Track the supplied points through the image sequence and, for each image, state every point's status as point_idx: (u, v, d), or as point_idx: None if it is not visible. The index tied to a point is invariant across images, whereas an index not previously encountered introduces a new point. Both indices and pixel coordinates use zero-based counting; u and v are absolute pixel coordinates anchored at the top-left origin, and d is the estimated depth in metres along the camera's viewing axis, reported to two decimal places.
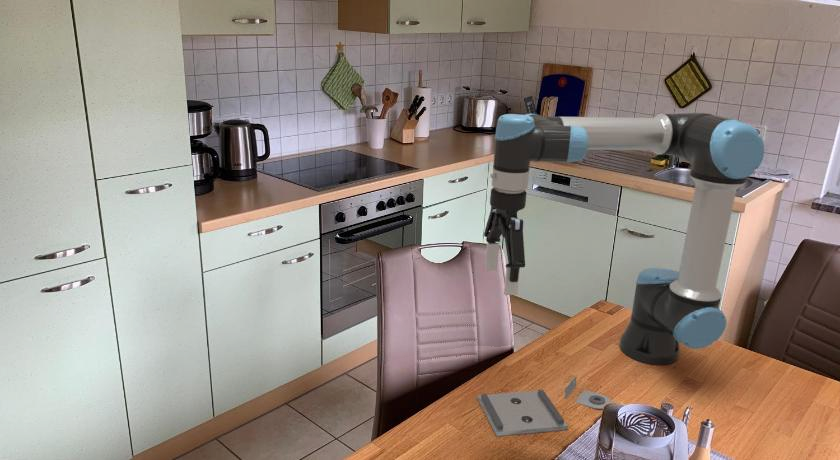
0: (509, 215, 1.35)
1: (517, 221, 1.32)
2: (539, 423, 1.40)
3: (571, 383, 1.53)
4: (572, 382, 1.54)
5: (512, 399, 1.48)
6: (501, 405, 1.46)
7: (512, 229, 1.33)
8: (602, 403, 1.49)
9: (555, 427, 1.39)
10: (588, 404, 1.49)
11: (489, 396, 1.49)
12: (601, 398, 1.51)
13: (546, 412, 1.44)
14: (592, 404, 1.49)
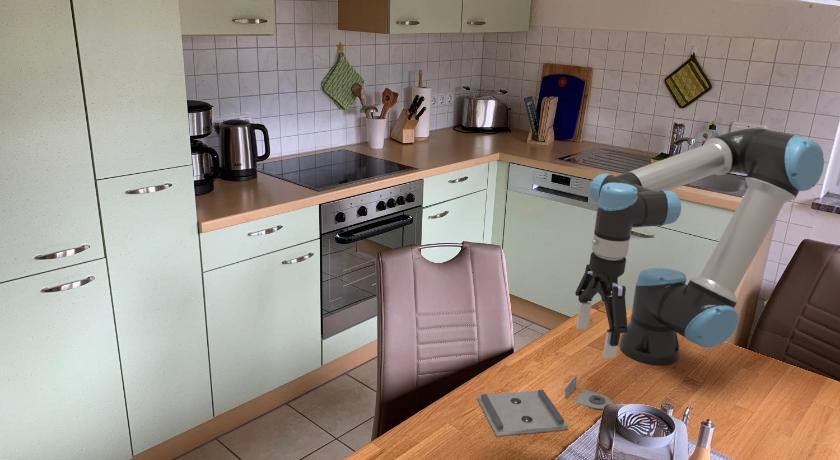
0: (610, 281, 1.39)
1: (620, 288, 1.36)
2: (539, 423, 1.40)
3: (571, 383, 1.53)
4: (572, 382, 1.54)
5: (512, 399, 1.48)
6: (501, 405, 1.46)
7: (615, 296, 1.36)
8: (602, 403, 1.49)
9: (555, 427, 1.39)
10: (588, 404, 1.49)
11: (489, 396, 1.49)
12: (601, 398, 1.51)
13: (546, 412, 1.44)
14: (592, 404, 1.49)
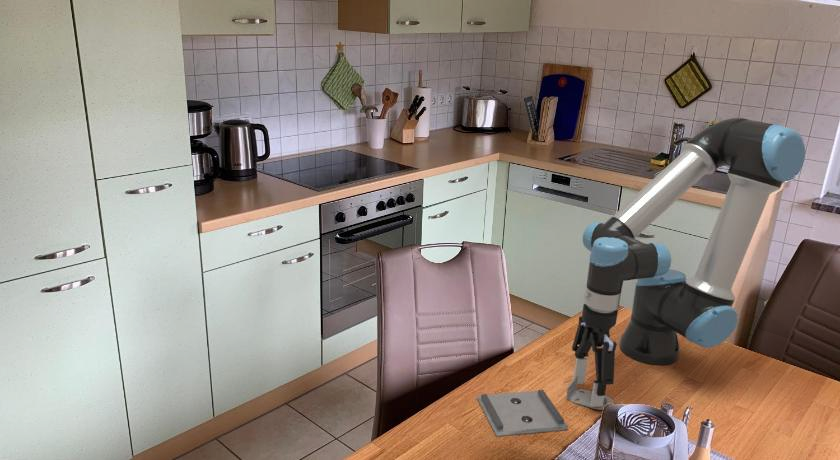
0: (602, 334, 1.42)
1: (611, 345, 1.40)
2: (539, 423, 1.40)
3: (572, 384, 1.52)
4: (573, 383, 1.53)
5: (512, 399, 1.48)
6: (501, 405, 1.46)
7: (605, 351, 1.41)
8: (604, 403, 1.48)
9: (555, 427, 1.39)
10: (590, 405, 1.48)
11: (489, 396, 1.49)
12: None
13: (546, 412, 1.44)
14: None
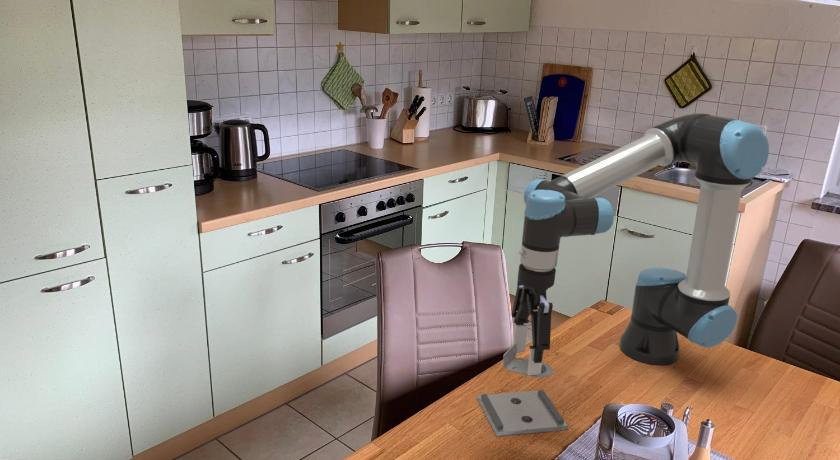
0: (538, 295, 1.31)
1: (547, 306, 1.29)
2: (539, 423, 1.40)
3: (510, 351, 1.41)
4: (511, 350, 1.41)
5: (512, 399, 1.48)
6: (501, 405, 1.46)
7: (540, 313, 1.29)
8: (543, 371, 1.37)
9: (555, 427, 1.39)
10: None
11: (489, 396, 1.49)
12: (542, 366, 1.39)
13: (546, 412, 1.44)
14: None
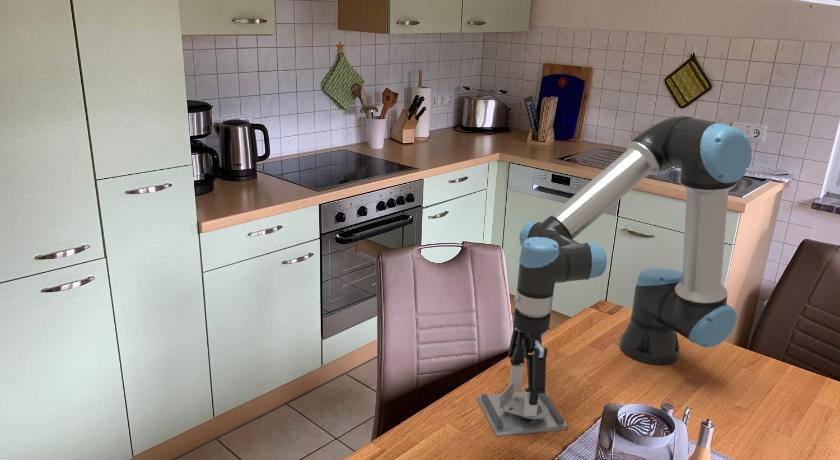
0: (533, 340, 1.34)
1: (542, 351, 1.32)
2: (539, 423, 1.40)
3: (507, 391, 1.44)
4: (508, 390, 1.45)
5: None
6: None
7: (535, 358, 1.33)
8: (538, 412, 1.40)
9: (555, 427, 1.39)
10: None
11: (489, 396, 1.49)
12: (538, 407, 1.42)
13: None
14: None
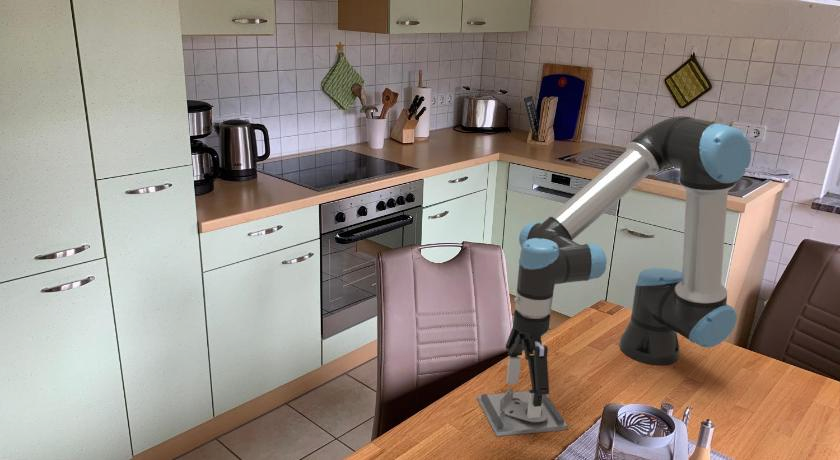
0: (533, 340, 1.35)
1: (542, 349, 1.32)
2: (539, 423, 1.40)
3: (507, 395, 1.44)
4: (508, 393, 1.45)
5: (512, 399, 1.48)
6: None
7: (536, 356, 1.32)
8: None
9: (555, 427, 1.39)
10: (524, 417, 1.40)
11: (489, 396, 1.49)
12: None
13: None
14: None
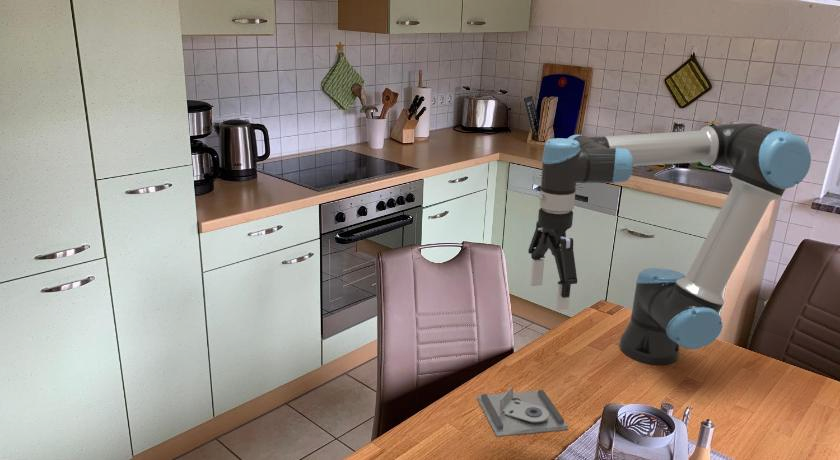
0: (558, 234, 1.42)
1: (568, 241, 1.39)
2: (539, 423, 1.40)
3: (507, 395, 1.44)
4: (508, 393, 1.45)
5: (512, 399, 1.48)
6: None
7: (563, 248, 1.40)
8: (538, 415, 1.41)
9: (555, 427, 1.39)
10: (524, 417, 1.40)
11: (489, 396, 1.49)
12: (538, 410, 1.42)
13: None
14: (528, 417, 1.40)
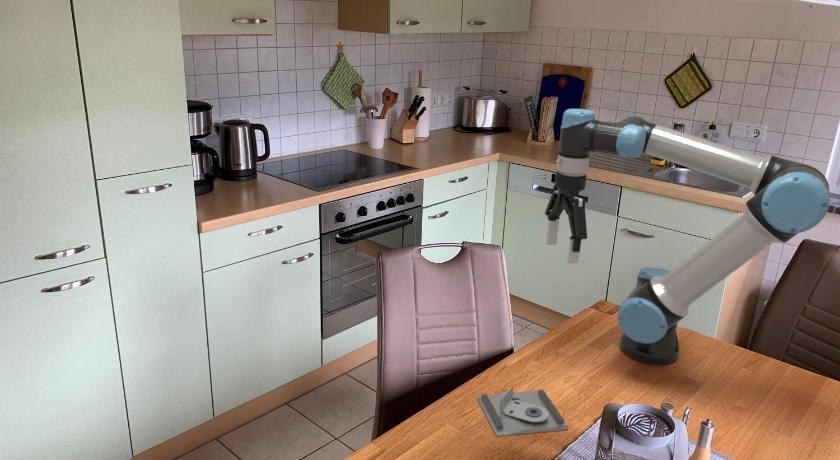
0: (572, 195, 1.58)
1: (580, 200, 1.56)
2: (539, 423, 1.40)
3: (507, 395, 1.44)
4: (508, 393, 1.45)
5: (512, 399, 1.48)
6: None
7: (576, 206, 1.56)
8: (538, 415, 1.41)
9: (555, 427, 1.39)
10: (524, 417, 1.40)
11: (489, 396, 1.49)
12: (538, 410, 1.42)
13: None
14: (528, 417, 1.40)
